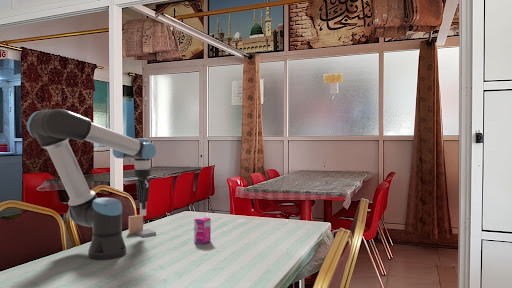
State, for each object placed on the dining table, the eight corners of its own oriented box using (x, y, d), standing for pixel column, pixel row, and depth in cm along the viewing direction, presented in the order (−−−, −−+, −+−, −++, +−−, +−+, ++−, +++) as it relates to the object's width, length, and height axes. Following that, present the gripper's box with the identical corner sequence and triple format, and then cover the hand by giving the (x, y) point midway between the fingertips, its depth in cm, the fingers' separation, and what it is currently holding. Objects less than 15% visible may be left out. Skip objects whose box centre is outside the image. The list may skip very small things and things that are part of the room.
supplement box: (193, 243, 187) (193, 218, 187) (201, 240, 192) (201, 216, 192) (203, 244, 184) (203, 220, 184) (211, 241, 190) (211, 217, 189)
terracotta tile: (129, 234, 204) (129, 217, 204) (128, 233, 205) (128, 216, 205) (143, 232, 208) (143, 215, 208) (141, 231, 210) (141, 214, 210)
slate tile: (142, 234, 198) (136, 230, 205) (142, 238, 198) (136, 234, 205) (156, 232, 202) (149, 228, 209) (156, 236, 202) (149, 232, 209)
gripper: (154, 169, 197) (155, 216, 197) (144, 167, 207) (145, 212, 207) (140, 170, 192) (140, 218, 192) (130, 168, 202) (131, 214, 203)
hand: (143, 215), depth 200 cm, fingers closed
